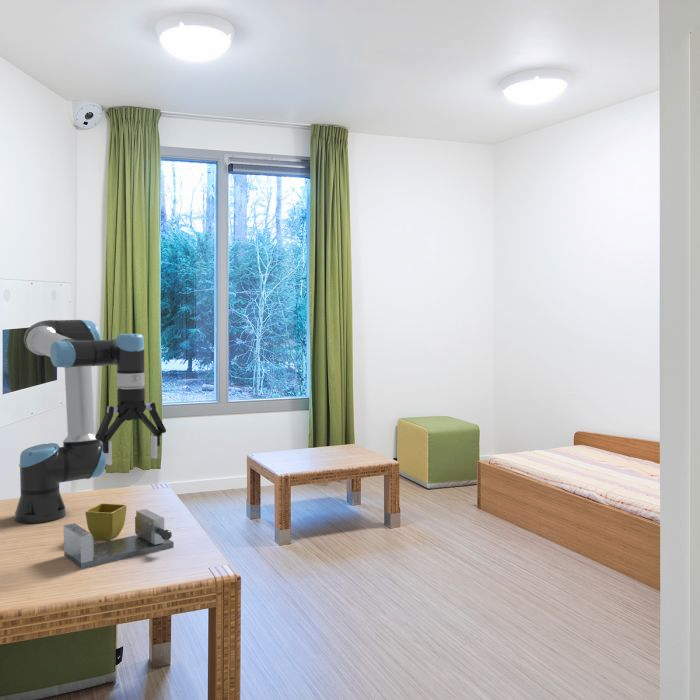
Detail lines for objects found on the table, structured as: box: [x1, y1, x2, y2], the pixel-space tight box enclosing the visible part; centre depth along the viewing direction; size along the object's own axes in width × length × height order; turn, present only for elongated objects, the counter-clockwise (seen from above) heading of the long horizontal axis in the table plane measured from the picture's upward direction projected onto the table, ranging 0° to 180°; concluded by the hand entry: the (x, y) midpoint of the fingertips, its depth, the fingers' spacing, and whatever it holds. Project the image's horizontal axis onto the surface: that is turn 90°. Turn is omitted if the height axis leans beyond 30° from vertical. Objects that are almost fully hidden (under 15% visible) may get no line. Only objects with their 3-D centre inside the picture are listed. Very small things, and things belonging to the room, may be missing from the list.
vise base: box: [63, 522, 174, 570], centre depth 192 cm, size 13×26×8 cm, turn 131°
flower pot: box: [84, 503, 128, 541], centre depth 205 cm, size 9×9×9 cm
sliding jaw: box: [134, 508, 172, 545], centre depth 196 cm, size 18×4×7 cm, turn 41°
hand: (132, 461), depth 199 cm, fingers open, 13 cm apart
